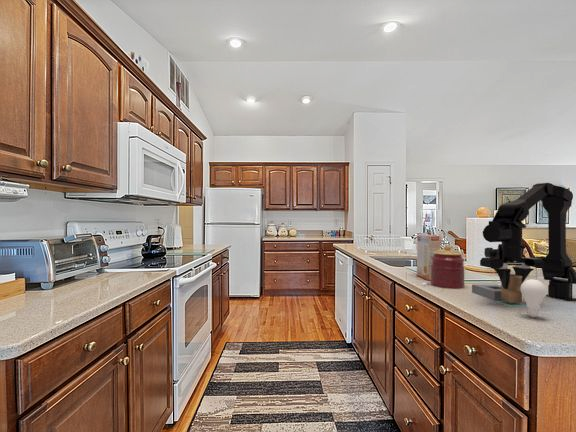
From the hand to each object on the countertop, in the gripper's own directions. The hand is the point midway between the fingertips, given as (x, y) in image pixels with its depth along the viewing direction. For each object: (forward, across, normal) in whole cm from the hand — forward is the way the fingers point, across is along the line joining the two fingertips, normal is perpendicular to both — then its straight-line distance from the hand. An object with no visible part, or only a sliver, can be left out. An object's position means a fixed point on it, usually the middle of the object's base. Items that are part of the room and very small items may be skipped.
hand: (511, 288), depth 109 cm
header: (+6, -3, -11) cm, 13 cm away
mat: (+6, 0, 0) cm, 6 cm away
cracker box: (+6, +2, -49) cm, 49 cm away
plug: (+4, 0, 0) cm, 4 cm away
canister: (+6, +4, -30) cm, 31 cm away
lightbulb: (+6, +4, +13) cm, 15 cm away
